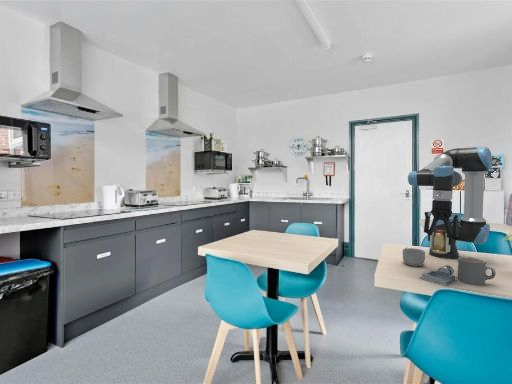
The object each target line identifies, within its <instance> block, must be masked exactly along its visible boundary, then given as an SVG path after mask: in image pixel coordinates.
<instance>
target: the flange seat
mask: <svg viewBox="0 0 512 384" xmlns="http://www.w3.org/2000/svg"><path fill="white" fill-rule="evenodd" d="M454 274H455V269H454V268H453V267H452V266H451V265H444V266H441V267H439V268H438V269H437V270H432V269H431V270H428V271H426V272H423V273H422V274H421V277H420V279H419V280H423V281H427V282H430V283H434V284H437V285H440V284H442V285H441V286H444V285H445V286H444V287H449V286H450V285H452V284H454V283H455V282H456V283H457V281H458V279H456V275H454Z"/></svg>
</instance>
